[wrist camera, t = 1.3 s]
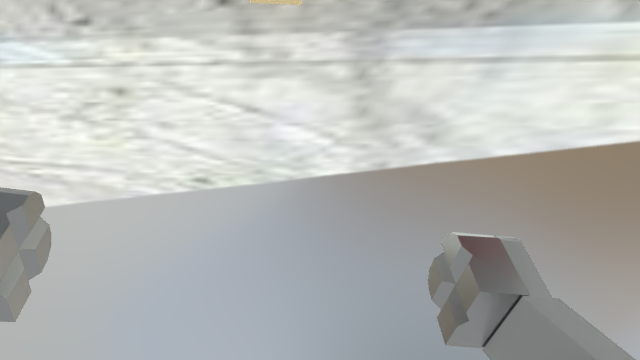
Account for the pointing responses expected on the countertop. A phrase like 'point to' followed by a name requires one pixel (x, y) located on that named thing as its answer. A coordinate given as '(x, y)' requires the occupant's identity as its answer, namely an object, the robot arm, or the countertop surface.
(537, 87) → the countertop surface
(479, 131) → the countertop surface
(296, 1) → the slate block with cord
